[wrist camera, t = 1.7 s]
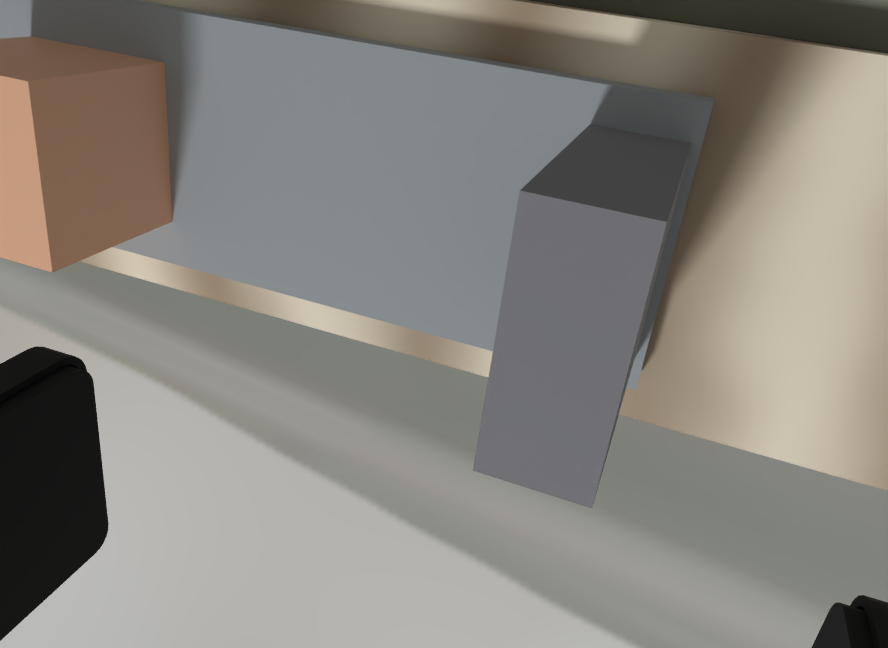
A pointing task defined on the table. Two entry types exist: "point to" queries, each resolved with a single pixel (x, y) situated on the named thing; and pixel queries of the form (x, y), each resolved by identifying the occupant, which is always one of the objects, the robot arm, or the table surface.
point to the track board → (686, 221)
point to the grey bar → (423, 203)
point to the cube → (79, 151)
